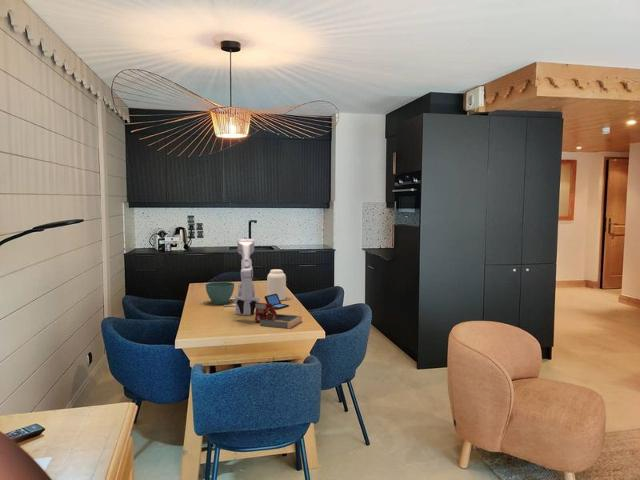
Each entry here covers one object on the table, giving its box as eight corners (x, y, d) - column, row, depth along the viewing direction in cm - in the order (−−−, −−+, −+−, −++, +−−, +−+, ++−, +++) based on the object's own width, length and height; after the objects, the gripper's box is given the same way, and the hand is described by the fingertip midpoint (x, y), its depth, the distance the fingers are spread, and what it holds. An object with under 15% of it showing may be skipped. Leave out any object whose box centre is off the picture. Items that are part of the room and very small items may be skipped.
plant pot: (237, 304, 306) (237, 285, 305) (208, 306, 299) (208, 287, 298) (231, 299, 323) (231, 281, 322) (203, 301, 316) (203, 282, 315)
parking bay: (259, 325, 254) (259, 319, 254) (272, 318, 269) (272, 313, 269) (290, 328, 249) (290, 322, 248) (301, 321, 264) (301, 316, 263)
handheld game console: (277, 310, 291) (277, 298, 291) (263, 308, 297) (263, 296, 297) (289, 306, 302) (289, 295, 301) (276, 304, 308) (276, 293, 307)
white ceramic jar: (265, 300, 318) (265, 270, 317) (269, 297, 330) (269, 268, 329) (283, 301, 316) (283, 271, 315) (287, 297, 329) (287, 268, 327)
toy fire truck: (273, 324, 257) (273, 305, 256) (252, 322, 261) (252, 303, 260) (278, 321, 263) (278, 302, 263) (258, 319, 267) (258, 301, 267)
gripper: (231, 290, 263) (231, 314, 264) (255, 291, 258) (255, 316, 259) (238, 287, 270) (238, 311, 271) (261, 289, 265) (261, 313, 266)
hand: (247, 313), depth 266 cm, fingers open, 6 cm apart
